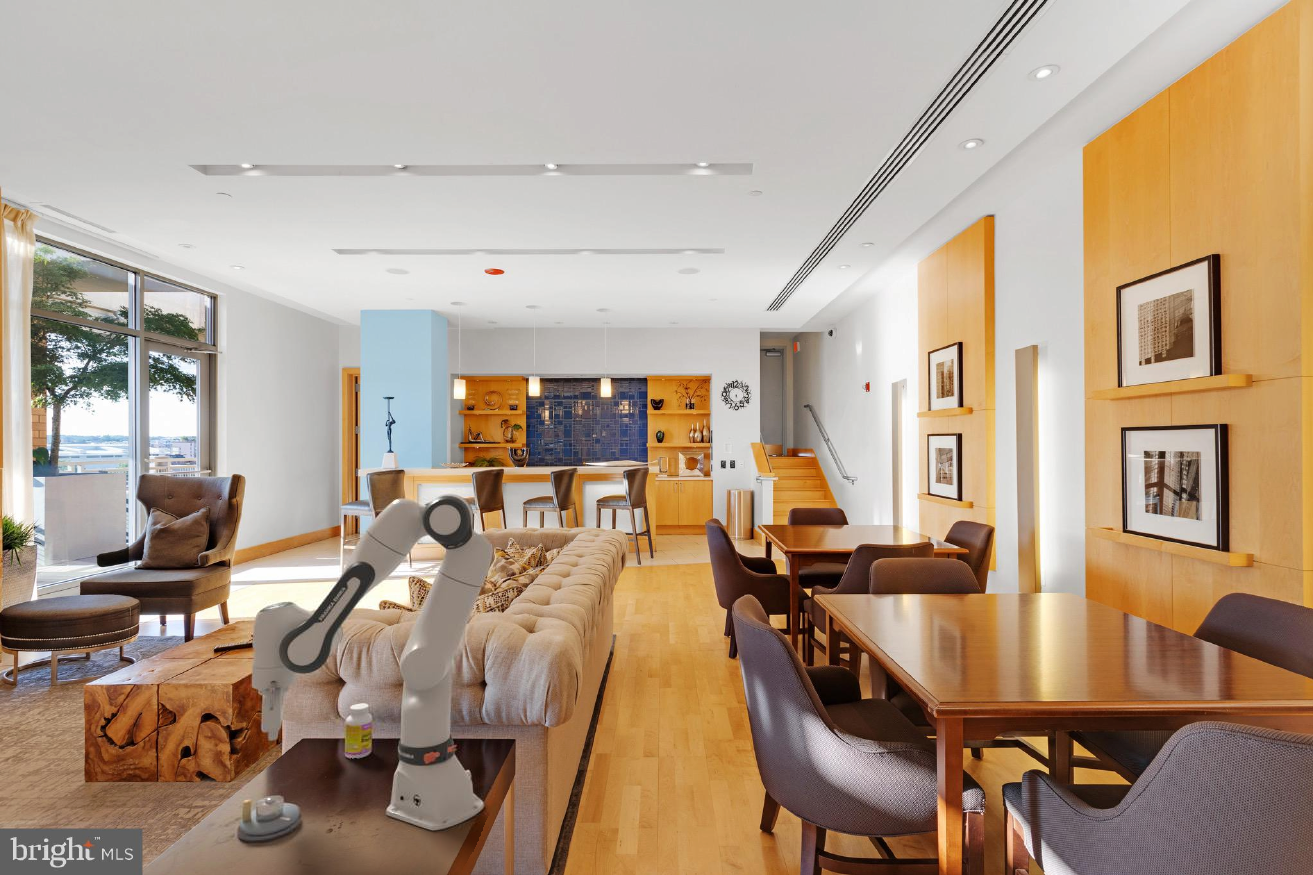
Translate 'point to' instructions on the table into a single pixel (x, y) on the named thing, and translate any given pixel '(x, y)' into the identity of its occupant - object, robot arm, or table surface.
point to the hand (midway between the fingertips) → (273, 737)
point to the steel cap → (269, 809)
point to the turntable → (256, 828)
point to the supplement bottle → (358, 732)
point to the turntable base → (268, 837)
